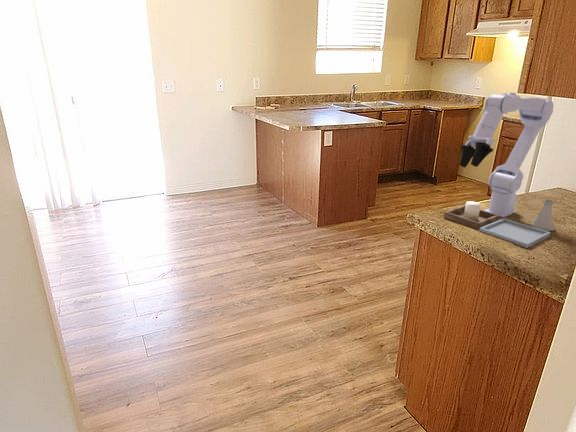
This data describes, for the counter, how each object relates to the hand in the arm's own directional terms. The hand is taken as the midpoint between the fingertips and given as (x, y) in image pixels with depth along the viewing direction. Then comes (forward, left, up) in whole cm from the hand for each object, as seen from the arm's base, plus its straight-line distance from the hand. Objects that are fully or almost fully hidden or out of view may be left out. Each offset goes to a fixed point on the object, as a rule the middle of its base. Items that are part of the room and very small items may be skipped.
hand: (467, 166), depth 139 cm
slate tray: (-9, +15, -22) cm, 28 cm away
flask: (-23, +18, -22) cm, 37 cm away
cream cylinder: (-9, -1, -21) cm, 23 cm away
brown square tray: (-9, -1, -22) cm, 24 cm away
